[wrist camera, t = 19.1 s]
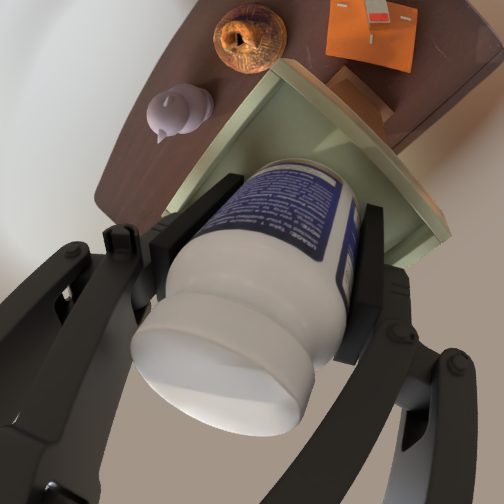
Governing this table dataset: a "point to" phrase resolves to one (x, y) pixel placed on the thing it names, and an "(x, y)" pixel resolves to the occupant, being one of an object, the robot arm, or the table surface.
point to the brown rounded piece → (250, 38)
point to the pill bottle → (256, 301)
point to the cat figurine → (179, 110)
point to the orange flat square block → (372, 35)
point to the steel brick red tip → (377, 14)
